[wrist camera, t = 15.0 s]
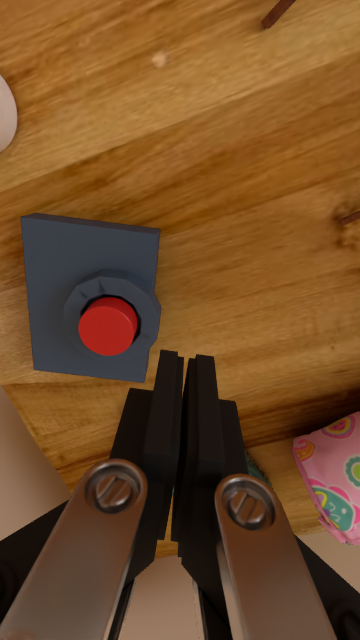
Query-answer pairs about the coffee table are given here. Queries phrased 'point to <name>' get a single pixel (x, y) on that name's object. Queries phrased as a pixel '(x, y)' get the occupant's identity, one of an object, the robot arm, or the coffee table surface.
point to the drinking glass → (7, 115)
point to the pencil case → (333, 475)
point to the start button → (108, 326)
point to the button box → (88, 291)
